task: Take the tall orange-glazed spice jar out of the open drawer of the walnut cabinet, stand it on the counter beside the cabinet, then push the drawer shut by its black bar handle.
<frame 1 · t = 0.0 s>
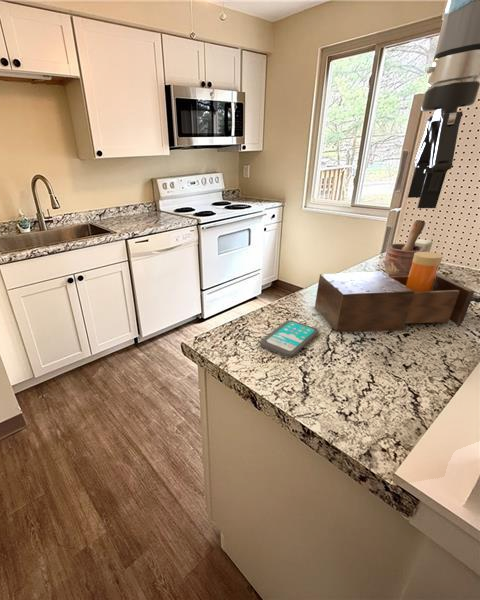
hand: (420, 202, 66), 30 cm above the countertop, tool pointing down, fingers open, 13 cm apart
mortar and pestle: (394, 286, 99), on the countertop
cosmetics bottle: (413, 269, 109), on the countertop
spice jar: (411, 309, 81), point 2 cm above the countertop, touching drawer
cabinet: (355, 318, 83), on the countertop
smartphone: (289, 339, 77), on the countertop
drawer: (426, 297, 79), point 5 cm above the countertop, slide at 12.0 cm, touching spice jar
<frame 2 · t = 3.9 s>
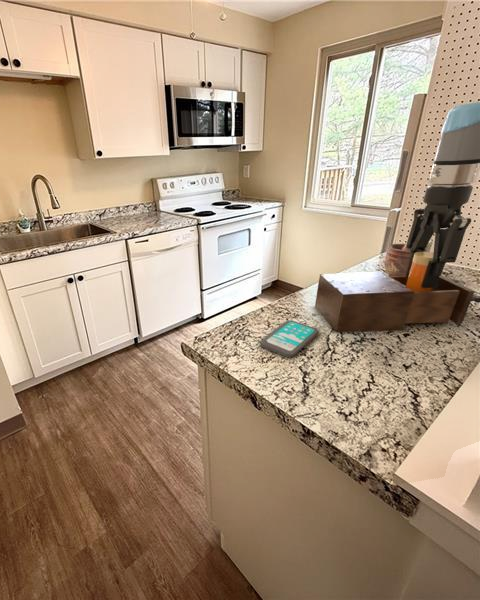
hand: (419, 282, 78), 10 cm above the countertop, tool pointing down, fingers closed on spice jar, 5 cm apart
spice jar: (411, 309, 81), point 2 cm above the countertop, touching drawer, gripper
everything else where it was.
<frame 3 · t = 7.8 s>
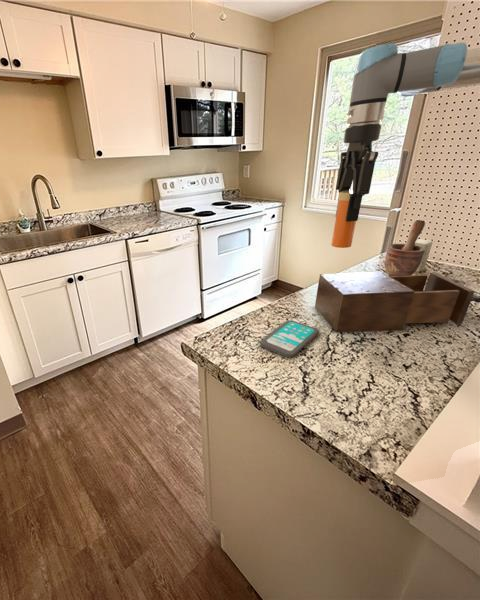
hand: (346, 218, 87), 24 cm above the countertop, tool pointing down, fingers closed on spice jar, 5 cm apart
spice jar: (341, 245, 90), point 16 cm above the countertop, touching gripper
drawer: (426, 297, 79), point 5 cm above the countertop, slide at 12.0 cm
everything else where it was.
when the fingers open (8 cm above the countertop, at t = 11.6 s): spice jar stays where it is, on the countertop.
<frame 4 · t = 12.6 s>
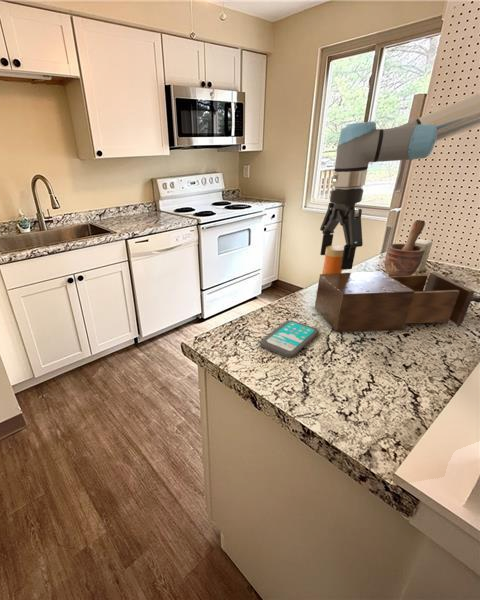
hand: (334, 261, 93), 11 cm above the countertop, tool pointing down, fingers open, 13 cm apart
spice jar: (328, 293, 98), on the countertop
everything else where it was.
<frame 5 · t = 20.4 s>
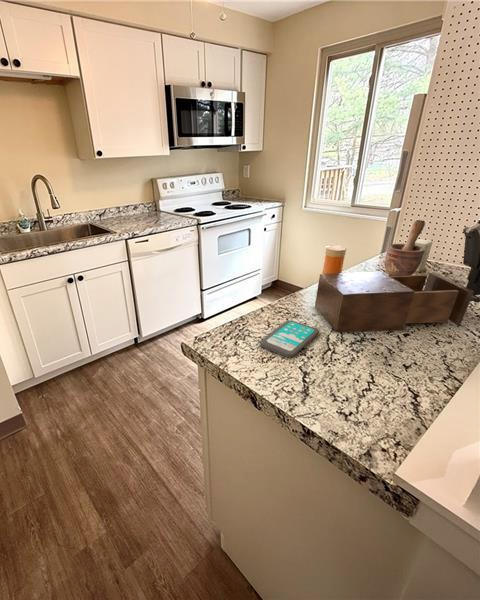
hand: (472, 292, 78), 6 cm above the countertop, tool pointing down, fingers closed
drawer: (426, 297, 79), point 5 cm above the countertop, slide at 11.8 cm, touching gripper
everything else where it was.
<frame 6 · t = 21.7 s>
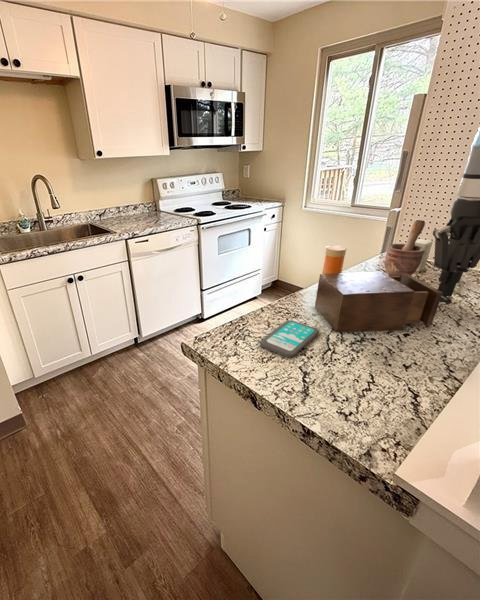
hand: (444, 294, 78), 6 cm above the countertop, tool pointing down, fingers closed
drawer: (398, 298, 80), point 5 cm above the countertop, slide at 5.4 cm, touching gripper
everything else where it was.
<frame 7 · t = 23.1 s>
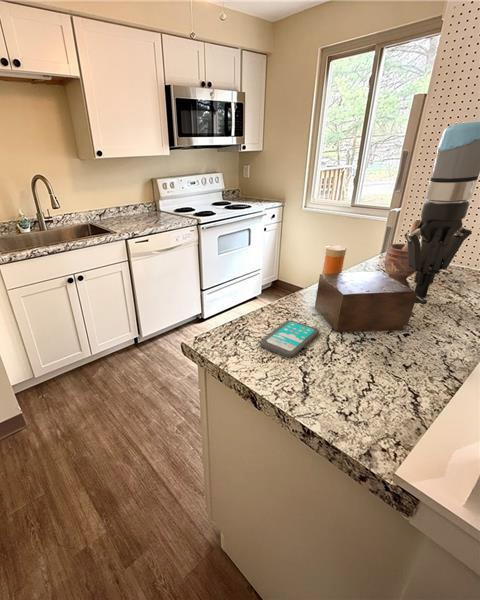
hand: (419, 295, 79), 6 cm above the countertop, tool pointing down, fingers closed
drawer: (376, 299, 81), point 5 cm above the countertop, slide at 0.0 cm, touching cabinet, gripper
everything else where it was.
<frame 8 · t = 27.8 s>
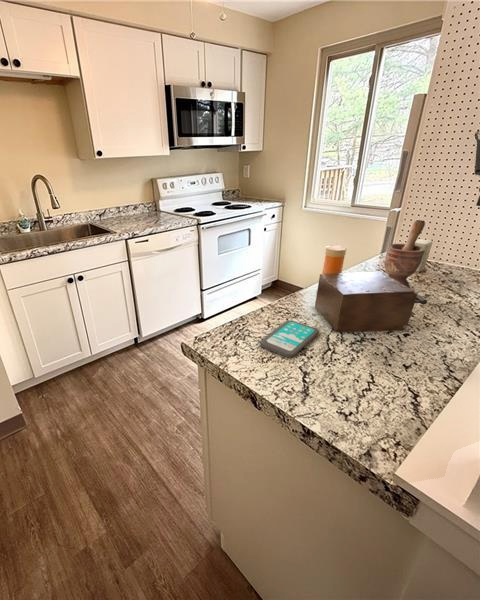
drawer: (376, 299, 81), point 5 cm above the countertop, slide at 0.0 cm, touching cabinet
everything else where it was.
at the end: spice jar inside the target area (0.2 cm from its centre), on the countertop; spice jar tilted 0°; drawer slide at 0.0 cm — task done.
